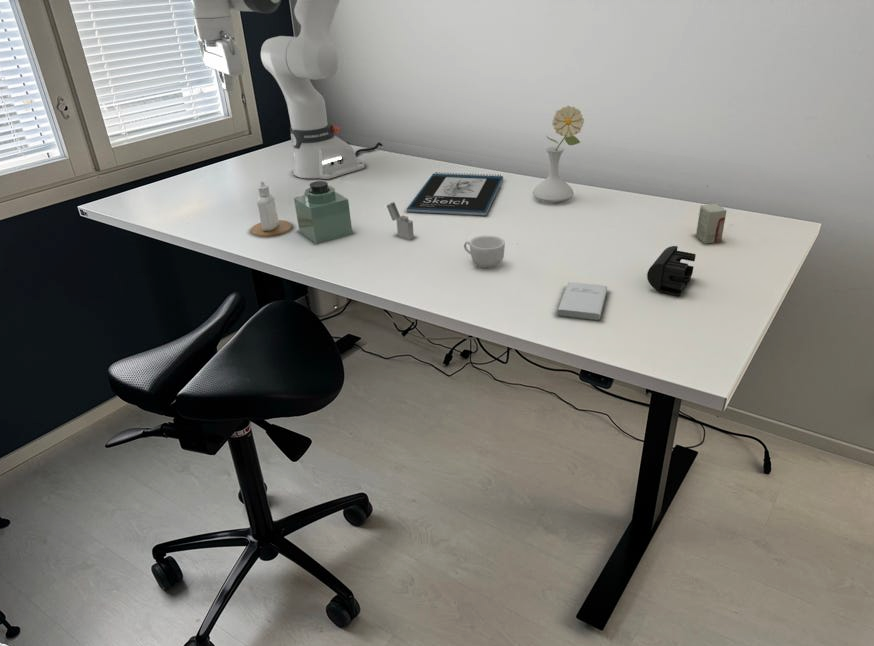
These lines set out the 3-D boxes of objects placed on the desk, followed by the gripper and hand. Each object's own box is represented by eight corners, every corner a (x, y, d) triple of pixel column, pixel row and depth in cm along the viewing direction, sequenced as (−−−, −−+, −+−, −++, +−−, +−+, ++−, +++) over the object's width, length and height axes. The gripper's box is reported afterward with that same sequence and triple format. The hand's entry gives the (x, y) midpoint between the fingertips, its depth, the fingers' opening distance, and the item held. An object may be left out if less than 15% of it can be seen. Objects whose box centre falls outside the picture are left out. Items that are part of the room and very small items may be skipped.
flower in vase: (526, 203, 185) (529, 108, 172) (538, 190, 194) (542, 99, 180) (573, 208, 181) (579, 111, 167) (583, 194, 190) (590, 101, 176)
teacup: (510, 261, 154) (511, 239, 151) (494, 274, 148) (493, 251, 146) (473, 253, 158) (472, 231, 156) (455, 265, 153) (454, 243, 150)
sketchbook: (407, 213, 182) (406, 205, 181) (434, 177, 207) (433, 171, 206) (485, 216, 178) (485, 208, 177) (503, 180, 203) (503, 173, 201)
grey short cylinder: (324, 187, 168) (322, 179, 167) (331, 192, 165) (330, 184, 164) (307, 191, 166) (306, 183, 165) (315, 196, 163) (314, 188, 162)
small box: (721, 242, 160) (727, 210, 155) (704, 244, 159) (710, 212, 155) (711, 234, 164) (717, 203, 159) (694, 236, 163) (700, 204, 159)
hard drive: (557, 316, 132) (567, 288, 142) (599, 321, 130) (606, 292, 140) (557, 309, 131) (567, 281, 141) (600, 313, 129) (607, 285, 139)
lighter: (414, 237, 167) (412, 206, 163) (409, 239, 166) (407, 208, 162) (393, 231, 171) (390, 200, 167) (388, 233, 170) (385, 202, 166)
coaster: (282, 219, 180) (282, 217, 180) (297, 230, 173) (297, 228, 173) (246, 228, 175) (245, 226, 175) (260, 240, 169) (260, 237, 168)
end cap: (659, 272, 147) (663, 243, 144) (692, 278, 144) (697, 249, 140) (644, 290, 140) (648, 260, 136) (678, 298, 137) (683, 267, 133)
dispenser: (334, 222, 177) (329, 181, 171) (352, 233, 170) (347, 191, 164) (299, 231, 173) (292, 189, 167) (316, 243, 166) (309, 200, 160)
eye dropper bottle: (285, 225, 175) (276, 180, 168) (267, 232, 171) (258, 186, 164) (274, 222, 177) (266, 177, 170) (256, 228, 173) (247, 183, 167)
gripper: (243, 32, 158) (255, 94, 166) (215, 25, 172) (226, 82, 180) (217, 35, 155) (230, 98, 163) (190, 27, 169) (203, 85, 177)
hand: (228, 90), depth 171 cm, fingers closed
